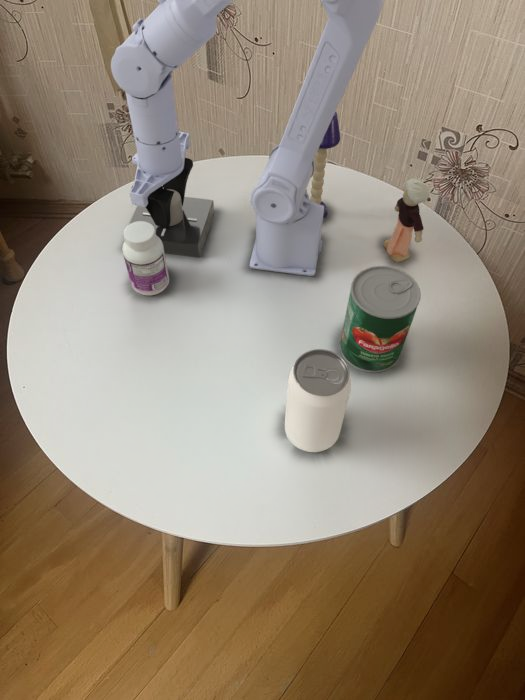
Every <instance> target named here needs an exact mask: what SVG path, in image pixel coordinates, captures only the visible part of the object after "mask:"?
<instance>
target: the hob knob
mask: <svg viewBox="0 0 525 700" xmlns="http://www.w3.org/2000/svg"><path fill="white" fill-rule="evenodd" d="M166 190H170V191H174V194H173V196H172V200H171V205H170V225H169V226H173V225H176V224H178V223H180V222H181V221H182V219H183V210H182V203H181V196H180V194H179V193H178V192H177V191H175V190H171V189H166Z"/></svg>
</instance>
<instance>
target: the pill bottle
mask: <svg viewBox="0 0 525 700" xmlns="http://www.w3.org/2000/svg"><path fill="white" fill-rule="evenodd" d="M123 238H124V242H123V244H122V248H121V250H122V257H123V259H124V264H125V266H126V270H127V274H128V277H129V281H130V284H131V287H132V289H133V290H134V291H135V292H136V293H137V294H140V295H143V296H154V295H155V296H156V295H158V294H160V293H162V292H163V291H164V290H166V288H167V287H168V286H169V284H170V274H169V270H168V264H167V260H166V259H167V258H166V253H164V247H163V243H162V241H161V239H160V238H159V237H158V236H157V235H156V233H155V229H154V227H153V225H152V224H150V223H148V222H145V221H137V222H133V223H131V224H129V223H128V225H127V226H126V227H125V228H124V229H123Z"/></svg>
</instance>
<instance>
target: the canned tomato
mask: <svg viewBox="0 0 525 700" xmlns="http://www.w3.org/2000/svg"><path fill="white" fill-rule="evenodd" d="M421 296H422V293H421V288H420V286H419V284H418V282H417V281H416V280H415V278H413V277H412V276H411V275H410V274H409V273H407V272H405V271H404V270H403V269H400V268H397V267H394V266H389V265H374V266H370V267H367V268H365V269H363V270H361V271H359V272H358V273H357V274H356V275H355V276H354V277H353V279H352V281H351V285H350V292H349V297H348V302H347V306H346V311H345V316H344V319H343V320H344V321H343V325H342V331H341V335H340V339H339V352H340V353H341V357H342V358H343V359H344V361H345V362H346V363H347V364H348V365H350V366H351V367H353V368H354V369H356V370H358V371H361V372H364V373H369V374H371V373H374V374H376V373H382V372H385V371H388V370H389V369H392V368H393V367H395V365H396V364H397V363H398V361H399V360H400V357H401V355H402V351H403V350H404V349H403V348H404V345H405V343H406V340H407V338H408V335H409V331H410V328H411V326H412V323H413V320H414V317H415V314H416V312H417V309H418V306H419V304H420V302H421Z"/></svg>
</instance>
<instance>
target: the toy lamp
mask: <svg viewBox="0 0 525 700" xmlns="http://www.w3.org/2000/svg"><path fill="white" fill-rule="evenodd" d="M340 132H341V131H340V124H339V116H338V113H337V111H336V112H335V114H334V116H333V118H332V120H331V122H330V125H329V127H328V129H327V131H326V133H325V135H324V138H323V140H322V142H321V144H320V146H319V148H318V151H317V153H316V155H315V157H314V161H315V170H314V173H313V175H312V178H311V189H310V197H309V200H310V201H312V202H314V203H317V204H320V205H323V206H324V215H323V220H325V219H326V218H327V217H328V214H329V211H328V207H327V205H326V203H324V201H322V195H323V191H324V188H323V186H324V184H325V180H324V178H325V173H326V171H325V169H326V165H327V162H326V159H327V157H328V150H329V149H332V148H334V147H335V148H336V146H337V145H339V144H340V141H341V133H340Z"/></svg>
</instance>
